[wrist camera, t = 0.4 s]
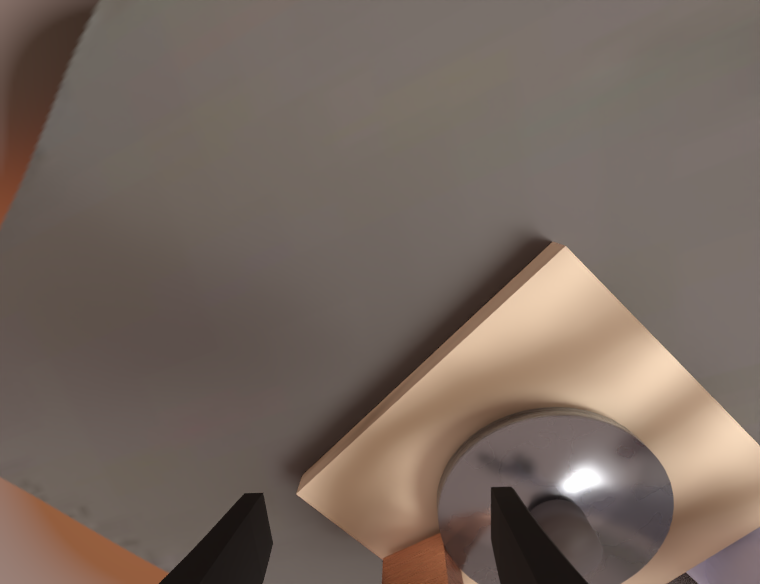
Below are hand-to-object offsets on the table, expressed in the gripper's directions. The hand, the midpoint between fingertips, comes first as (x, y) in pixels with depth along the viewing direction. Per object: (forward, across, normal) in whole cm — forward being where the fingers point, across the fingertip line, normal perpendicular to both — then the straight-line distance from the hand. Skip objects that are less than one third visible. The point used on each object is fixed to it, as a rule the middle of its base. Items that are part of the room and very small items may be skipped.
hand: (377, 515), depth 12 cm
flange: (+8, -7, +8) cm, 13 cm away
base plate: (+10, -8, +8) cm, 15 cm away
